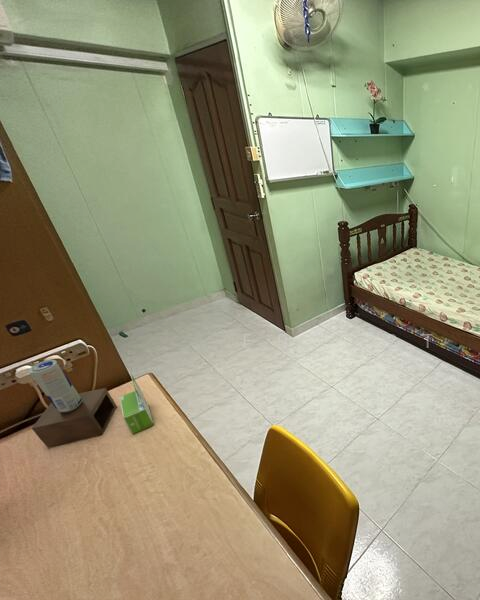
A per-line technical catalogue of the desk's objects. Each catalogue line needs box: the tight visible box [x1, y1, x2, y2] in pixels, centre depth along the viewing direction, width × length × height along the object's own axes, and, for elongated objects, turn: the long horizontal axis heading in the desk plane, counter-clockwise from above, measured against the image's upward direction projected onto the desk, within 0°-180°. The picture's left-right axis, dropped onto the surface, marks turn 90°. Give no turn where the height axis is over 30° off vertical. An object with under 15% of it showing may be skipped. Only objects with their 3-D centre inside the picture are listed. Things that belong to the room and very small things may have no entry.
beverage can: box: [28, 359, 82, 412], centre depth 83 cm, size 5×5×15 cm
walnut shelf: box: [31, 387, 118, 449], centre depth 89 cm, size 12×11×8 cm
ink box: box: [119, 372, 154, 435], centre depth 90 cm, size 10×5×14 cm, turn 43°
